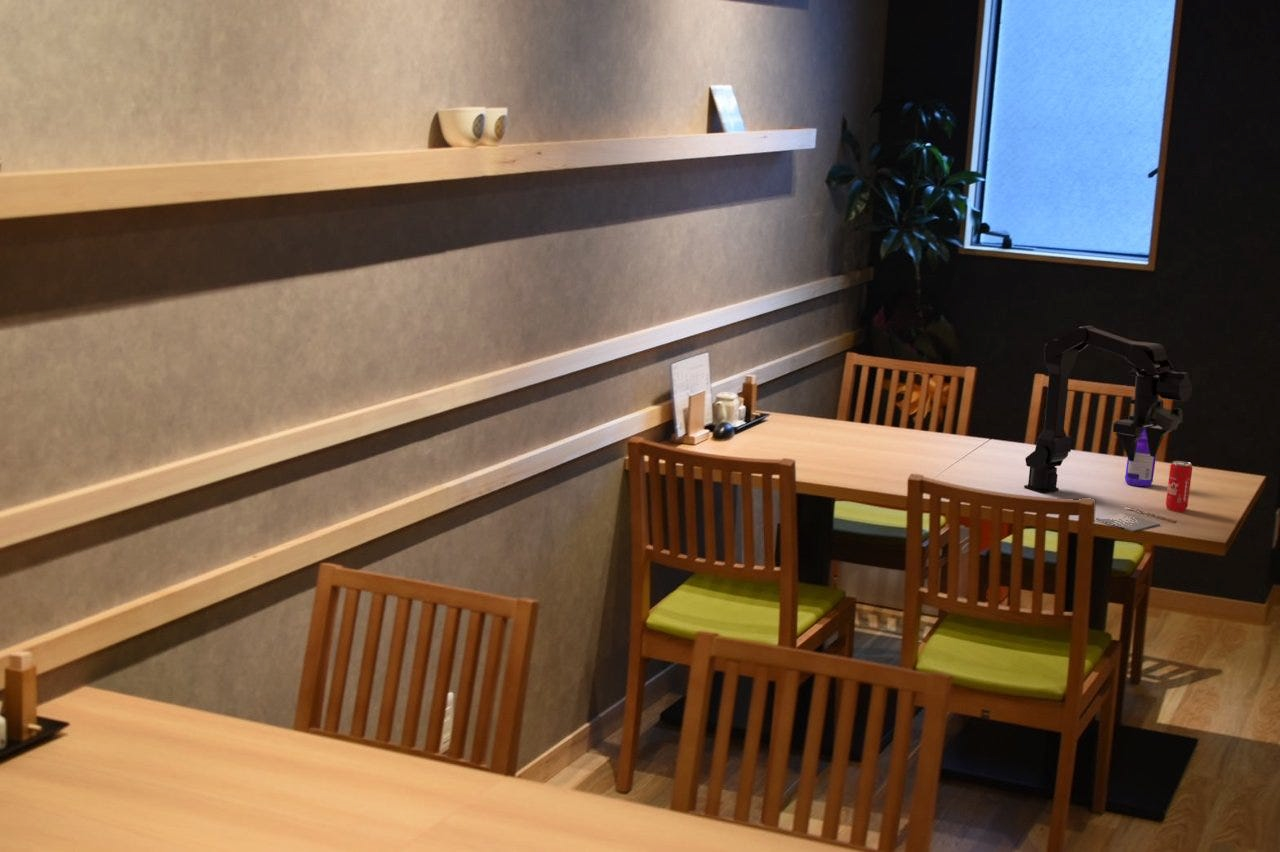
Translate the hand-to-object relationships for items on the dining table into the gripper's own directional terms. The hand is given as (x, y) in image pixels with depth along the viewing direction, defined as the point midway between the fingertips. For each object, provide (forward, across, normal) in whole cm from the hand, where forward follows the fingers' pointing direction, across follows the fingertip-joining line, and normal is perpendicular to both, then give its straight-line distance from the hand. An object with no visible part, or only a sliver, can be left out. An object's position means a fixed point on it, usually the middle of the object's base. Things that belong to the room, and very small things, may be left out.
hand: (1142, 458), depth 373 cm
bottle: (+14, +28, +18) cm, 36 cm away
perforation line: (+14, +3, -2) cm, 15 cm away
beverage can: (+15, +14, -2) cm, 20 cm away
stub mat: (+14, -8, -2) cm, 17 cm away
